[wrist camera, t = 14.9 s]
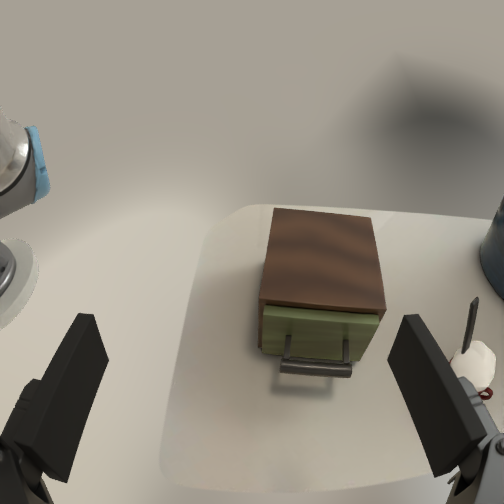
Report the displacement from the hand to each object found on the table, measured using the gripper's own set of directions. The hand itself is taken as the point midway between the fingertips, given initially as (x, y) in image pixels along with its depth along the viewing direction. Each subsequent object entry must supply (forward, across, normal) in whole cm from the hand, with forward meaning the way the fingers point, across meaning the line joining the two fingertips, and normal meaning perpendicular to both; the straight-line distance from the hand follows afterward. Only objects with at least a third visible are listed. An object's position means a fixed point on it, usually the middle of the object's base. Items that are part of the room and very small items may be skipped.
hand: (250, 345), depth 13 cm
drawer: (+20, +9, -16) cm, 27 cm away
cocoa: (+11, +26, -19) cm, 34 cm away
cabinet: (+24, +9, -16) cm, 30 cm away
